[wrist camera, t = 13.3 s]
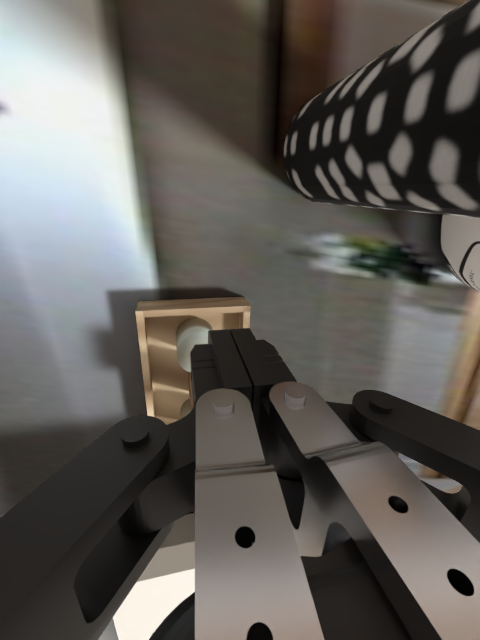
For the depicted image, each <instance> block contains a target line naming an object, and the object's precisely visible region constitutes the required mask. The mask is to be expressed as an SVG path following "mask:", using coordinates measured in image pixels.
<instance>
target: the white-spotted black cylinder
mask: <svg viewBox="0 0 480 640" xmlns="http://www.w3.org/2000/svg"><path fill="white" fill-rule="evenodd" d="M284 162H285V169H286V172H287V175H288V178H289V180H290V182H291V183H292V185H293V187H294V188H295V189H296V190H297V191H298V193H299V194H301V195H302V196H303V197H305V198H306V199H309V200H311V201H313V202H318V203H326V204H337V205H348V206H358V207H369V208H380V209H390V210H401V211H412V212H423V213H433V214H444V215H455V216H465V217H476V218H480V0H468V1H467V2H465V3H463V4H462V5H460V6H459V7H457V8H455V9H454V10H452V11H451V12H449V13H448V14H446V15H444V16H443V17H441V18H440V19H438V20H436V21H435V22H433V23H432V24H430V25H428V26H427V27H425V28H424V29H422V30H420V31H419V32H417V33H416V34H414V35H412V36H411V37H409V38H408V39H406V40H404V41H403V42H401V43H400V44H398V45H396V46H395V47H393V48H392V49H390V50H388V51H387V52H385V53H384V54H382V55H381V56H379V57H377V58H376V59H374V60H373V61H371V62H369V63H368V64H366V65H365V66H363V67H361V68H360V69H358V70H357V71H355V72H353V73H352V74H350V75H349V76H347V77H345V78H344V79H342V80H341V81H339V82H337V83H336V84H334V85H333V86H331V87H329V88H328V89H326V90H325V91H323V92H321V93H320V94H318V95H317V96H315V97H314V98H312V99H310V100H309V101H308V102H307V103H306V104H304V105H303V106H302V107H301V109H300V110H299V111H298V112H297V113H296V115H295V116H294V118H293V120H292V122H291V124H290V126H289V129H288V132H287V134H286V139H285V144H284Z"/></svg>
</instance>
